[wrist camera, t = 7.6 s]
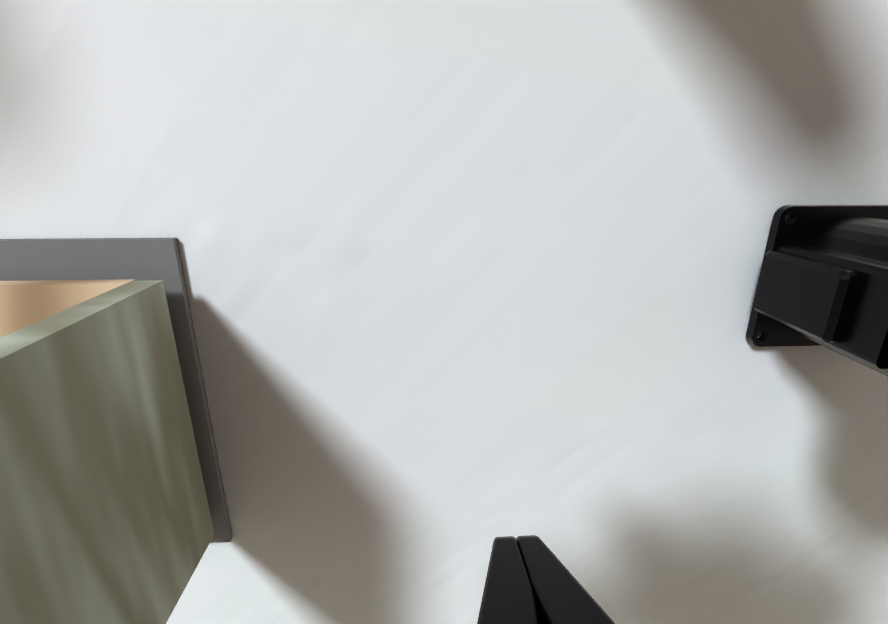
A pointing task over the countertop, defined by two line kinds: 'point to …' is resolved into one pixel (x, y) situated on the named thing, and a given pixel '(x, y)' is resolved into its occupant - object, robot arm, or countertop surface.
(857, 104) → the countertop surface
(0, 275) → the mat
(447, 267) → the countertop surface
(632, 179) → the countertop surface
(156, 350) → the wooden bookend
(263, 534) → the countertop surface
